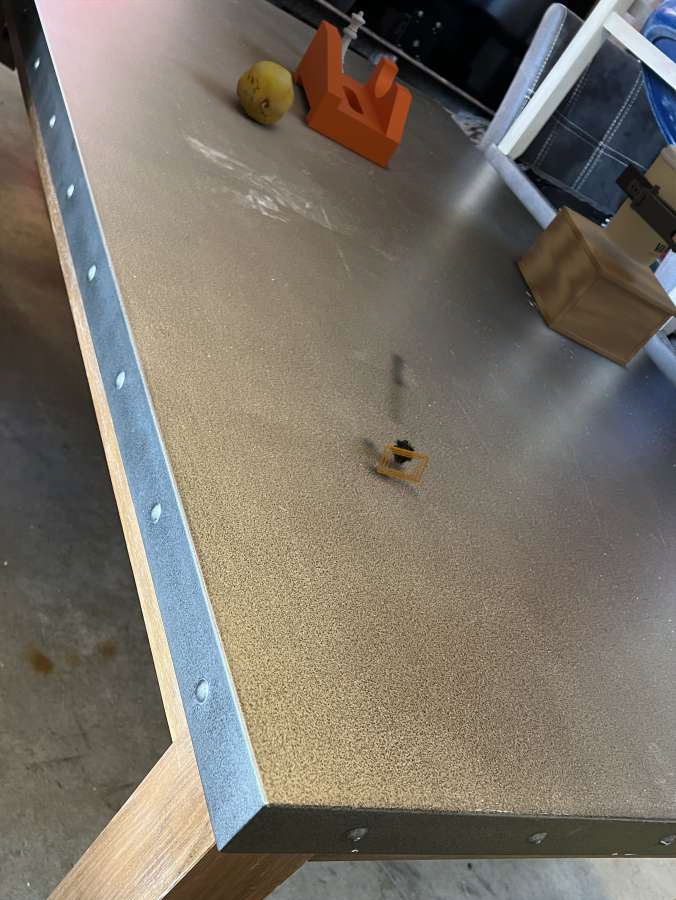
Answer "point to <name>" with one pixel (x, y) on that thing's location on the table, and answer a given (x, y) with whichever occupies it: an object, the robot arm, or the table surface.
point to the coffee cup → (629, 229)
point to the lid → (618, 263)
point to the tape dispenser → (352, 99)
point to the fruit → (266, 92)
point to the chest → (586, 297)
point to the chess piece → (351, 32)
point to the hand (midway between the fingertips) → (646, 185)
